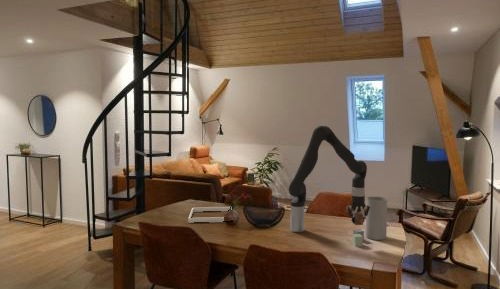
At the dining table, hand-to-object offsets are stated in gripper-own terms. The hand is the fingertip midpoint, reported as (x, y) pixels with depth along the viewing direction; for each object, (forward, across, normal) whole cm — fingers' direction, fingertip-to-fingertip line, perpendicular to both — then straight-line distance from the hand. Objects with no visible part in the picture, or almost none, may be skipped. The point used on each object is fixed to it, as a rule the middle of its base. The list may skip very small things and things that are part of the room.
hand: (357, 222), depth 212 cm
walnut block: (+1, 0, 0) cm, 1 cm away
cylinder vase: (+14, +17, +13) cm, 25 cm away
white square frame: (+13, -90, +71) cm, 115 cm away
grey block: (+14, +4, +9) cm, 17 cm away
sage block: (+14, 0, 0) cm, 14 cm away
